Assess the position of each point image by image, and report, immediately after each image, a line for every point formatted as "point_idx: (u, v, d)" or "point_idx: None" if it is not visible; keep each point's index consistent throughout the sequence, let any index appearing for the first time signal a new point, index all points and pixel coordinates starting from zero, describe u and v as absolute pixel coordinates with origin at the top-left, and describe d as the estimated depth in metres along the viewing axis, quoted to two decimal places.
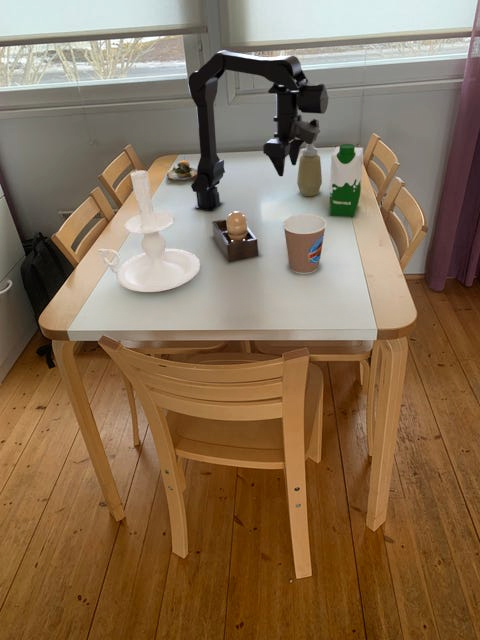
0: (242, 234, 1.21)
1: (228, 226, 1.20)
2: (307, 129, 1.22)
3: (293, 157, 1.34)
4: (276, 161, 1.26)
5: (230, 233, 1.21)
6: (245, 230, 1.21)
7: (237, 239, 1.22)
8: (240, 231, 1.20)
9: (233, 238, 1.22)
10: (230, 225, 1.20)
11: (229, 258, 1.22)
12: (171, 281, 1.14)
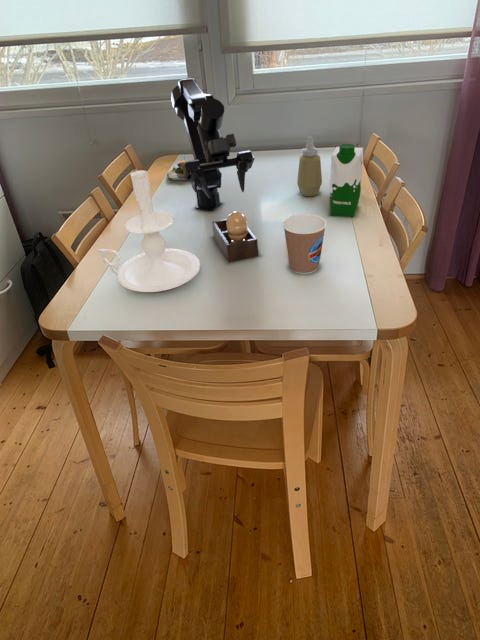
0: (242, 234, 1.21)
1: (228, 226, 1.20)
2: None
3: (240, 184, 1.26)
4: (201, 184, 1.25)
5: (230, 233, 1.21)
6: (245, 230, 1.21)
7: (237, 239, 1.22)
8: (240, 231, 1.20)
9: (233, 238, 1.22)
10: (230, 225, 1.20)
11: (229, 258, 1.22)
12: (171, 281, 1.14)
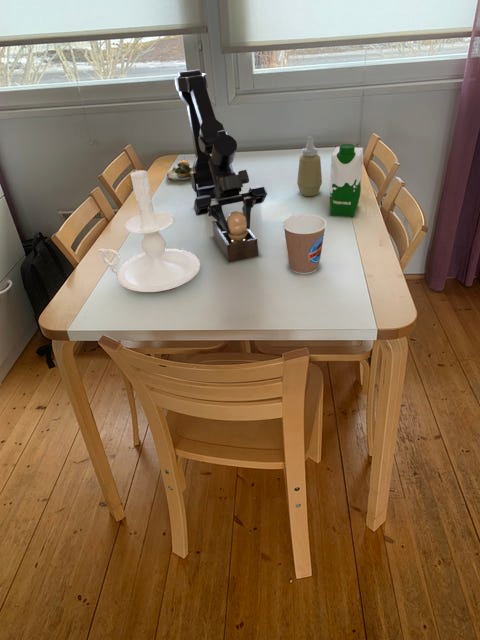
0: (242, 233, 1.21)
1: (228, 226, 1.20)
2: None
3: None
4: (219, 219, 1.22)
5: (230, 233, 1.21)
6: (245, 230, 1.21)
7: (237, 239, 1.22)
8: (240, 231, 1.20)
9: (233, 238, 1.22)
10: (230, 225, 1.20)
11: (229, 258, 1.22)
12: (171, 281, 1.14)
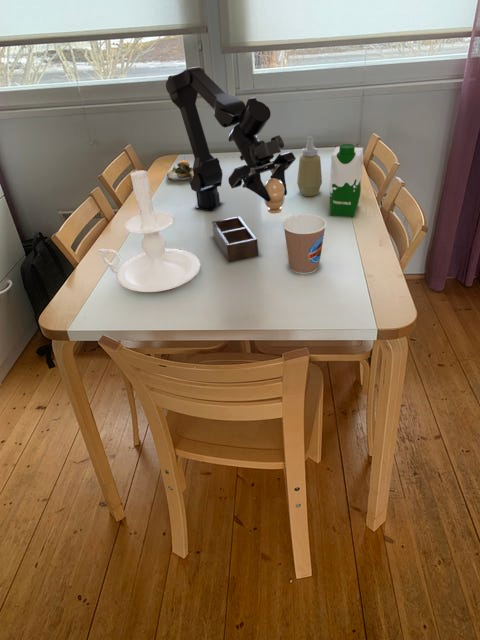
0: (282, 200, 1.21)
1: None
2: (260, 145, 1.16)
3: None
4: (256, 188, 1.21)
5: (270, 201, 1.21)
6: None
7: (277, 206, 1.22)
8: (281, 197, 1.21)
9: (273, 206, 1.21)
10: (271, 192, 1.19)
11: (229, 258, 1.22)
12: (171, 281, 1.14)
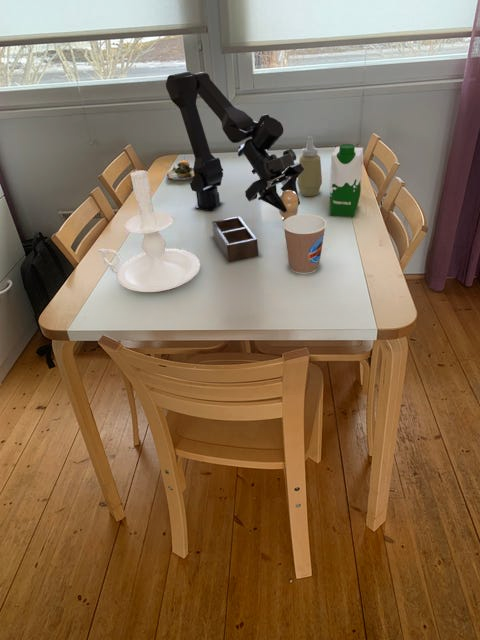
0: (297, 209, 1.27)
1: None
2: (276, 158, 1.21)
3: None
4: (272, 200, 1.25)
5: (286, 211, 1.26)
6: None
7: None
8: (296, 207, 1.26)
9: (289, 216, 1.27)
10: (287, 203, 1.24)
11: (229, 258, 1.22)
12: (171, 281, 1.14)
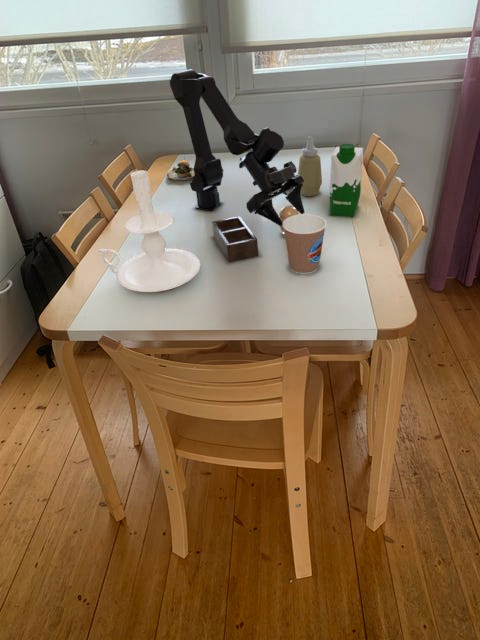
0: None
1: None
2: (276, 171, 1.22)
3: (298, 207, 1.31)
4: (268, 214, 1.26)
5: None
6: None
7: None
8: None
9: None
10: None
11: (229, 258, 1.22)
12: (171, 281, 1.14)
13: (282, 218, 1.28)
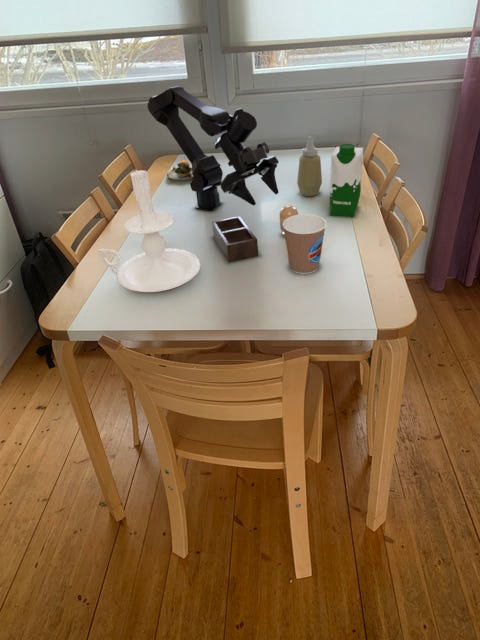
0: None
1: None
2: (249, 151, 1.26)
3: (272, 187, 1.35)
4: (241, 194, 1.30)
5: None
6: None
7: None
8: None
9: None
10: None
11: (229, 258, 1.22)
12: (171, 281, 1.14)
13: (282, 218, 1.28)
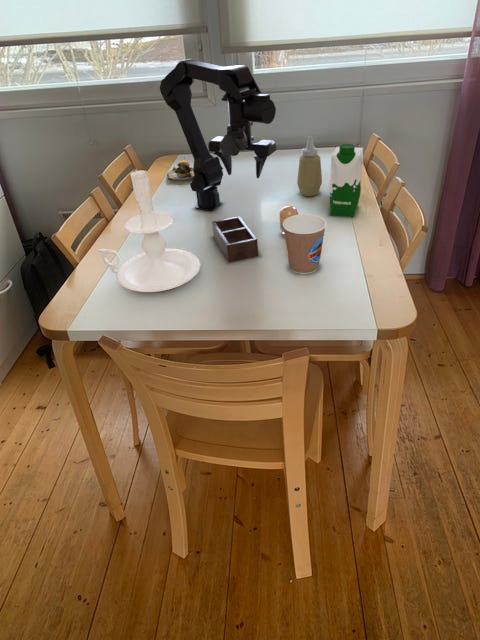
0: None
1: None
2: (224, 139, 1.25)
3: None
4: None
5: None
6: None
7: None
8: None
9: None
10: None
11: (229, 258, 1.22)
12: (171, 281, 1.14)
13: (282, 218, 1.28)
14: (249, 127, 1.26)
